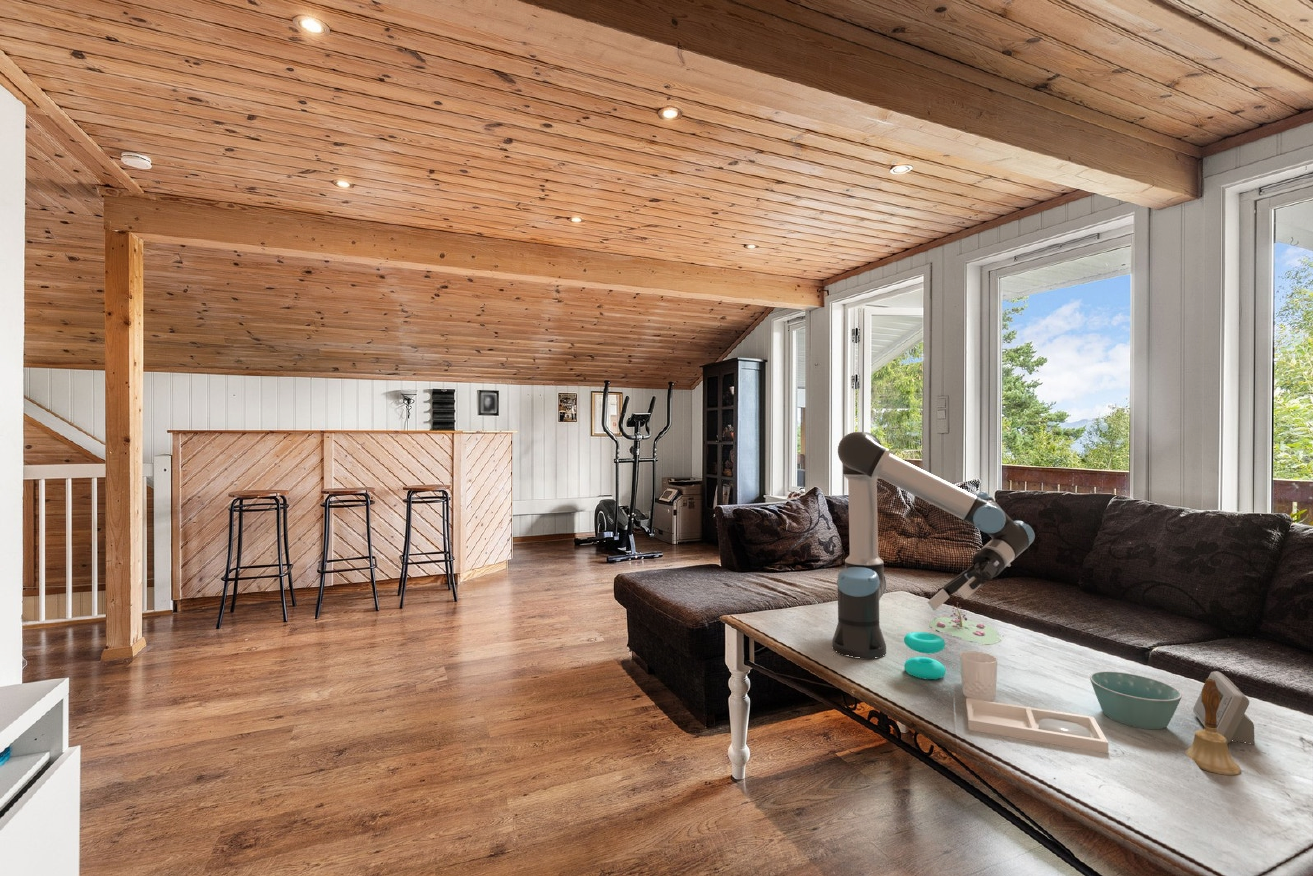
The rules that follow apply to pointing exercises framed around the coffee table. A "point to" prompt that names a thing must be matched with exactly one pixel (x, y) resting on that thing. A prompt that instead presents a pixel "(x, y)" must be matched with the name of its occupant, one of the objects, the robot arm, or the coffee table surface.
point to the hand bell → (1212, 738)
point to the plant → (966, 628)
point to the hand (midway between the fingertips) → (945, 600)
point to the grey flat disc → (1063, 727)
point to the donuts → (924, 665)
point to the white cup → (978, 675)
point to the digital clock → (1229, 711)
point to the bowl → (1135, 699)
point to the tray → (1031, 724)
